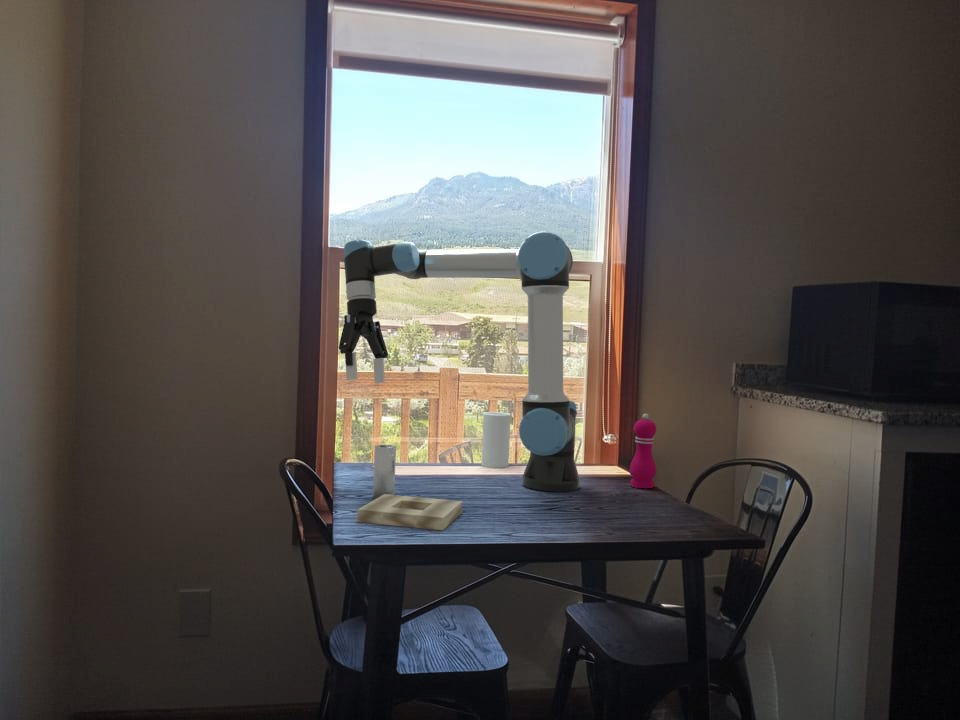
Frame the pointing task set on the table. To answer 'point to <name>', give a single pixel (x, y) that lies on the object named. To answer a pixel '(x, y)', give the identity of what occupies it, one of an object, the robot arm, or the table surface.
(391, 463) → the tall grey pillar
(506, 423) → the cup
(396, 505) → the frame
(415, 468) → the table surface
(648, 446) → the pepper mill
